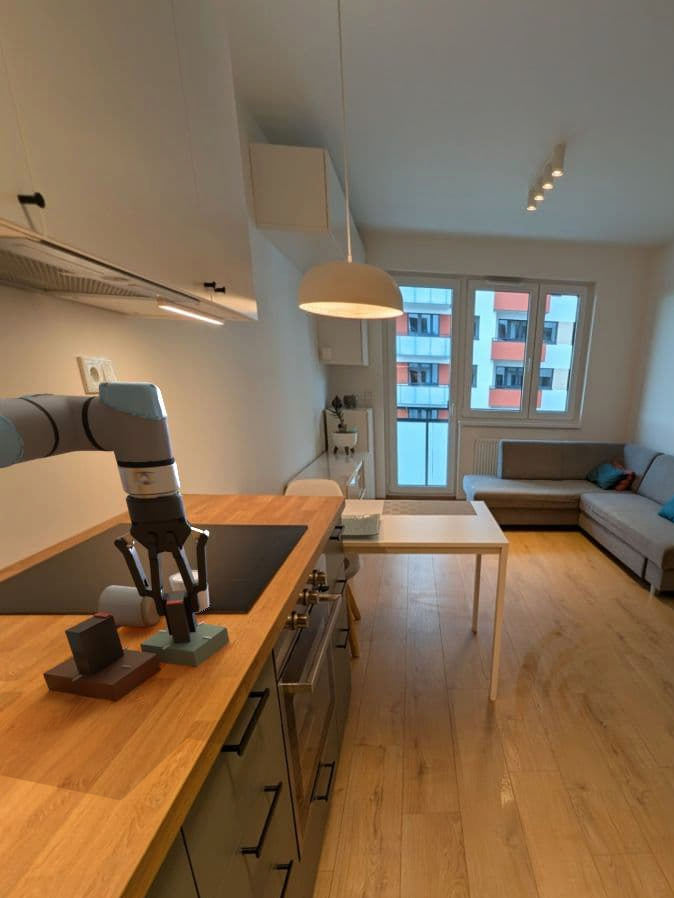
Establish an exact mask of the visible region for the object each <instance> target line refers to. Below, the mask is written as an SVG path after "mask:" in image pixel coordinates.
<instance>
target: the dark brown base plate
mask: <svg viewBox="0 0 674 898" xmlns="http://www.w3.org/2000/svg"><path fill="white" fill-rule="evenodd" d="M128 648H129V646H128V645H127V646H125V647H122V649H123V652H124V655H122V656H121V657H119V658H117V659H116V660H114V661H113V662H111V663H109V664H108V665H106V666H105V667H103V668H101V669H100V670H98V671H97V672H95V673H93V674H88V673H82V672H78V669H77V666H76V663H75V660H74V657H73V656H71V657H69V658H67V659H65V660H63V661H62V662H60V663H59V664H57V665H55V666H53V667H52V668H50V669H48V670H46V671H44V672H43V673H42V675H43V677H44V681H45V683H46V686H47V689H48V691H52V692H58V693H65V694H69V695H75V696H82V697H85V698H94V699H99V700H105V701H109V702H118V701H120V700H121V699H123V698H124V697H126V696H127V695H128V694H130V693H131V692H133V691H134V690H135V689H137V688H138V687H139V686H141V685H142V684H143V683H145V682H146V681H148V680H149V679H151V678H152V677H153V676H154V675H156V674H157V673H158V672H160V671H162V668H161V663H160V662H159V660H158V656H157V654H154V653H147V652H142V650H141V651H139V650H133V649H128Z"/></svg>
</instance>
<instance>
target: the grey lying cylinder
mask: <svg viewBox="0 0 674 898" xmlns="http://www.w3.org/2000/svg"><path fill="white" fill-rule="evenodd" d="M97 606H98V612H100V613H107V614H111V615H113V617H114V620H115V624H116V627H117V626H120V627H122V628H147V627H152V626H155V625H156V624H157V623H158V622H159V621H160V619H161V617H162V616H159V615H158V614H157V610H156V606H155V602H154V599H153V598H151V597H147V596H146V597H141V596H140V595H139V593H138V591H137V588H136V586H135V587H133V586H124V585H115V584H114V585H109V586H107V587H105V589H104V590H103V591H102V592H101V594H100V595H99V600H98V605H97Z"/></svg>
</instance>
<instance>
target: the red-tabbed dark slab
mask: <svg viewBox="0 0 674 898" xmlns="http://www.w3.org/2000/svg"><path fill="white" fill-rule="evenodd" d="M64 633H65V636H66V639H67V642H68V645H69V648H70V651H71V654H72V657H74V660H75V663H76V666H77V669H78V672H82V673H88V674H93V673H95V672H97V671H98V670H100V669H101V668H103V667H105V666H106V665H108V664H109V663H111V662H113V661H114V660H116V659H117V658H119V657H121V656H122V655H124V652H123V645H122V641H121V639H120V638H121V637H120V634H119V631H118V629H117V626H116V624H115V620H114V617H113V615H111V614H107V613H100V612H99V611H98V612H97V613H95V614H93V615H92V616H91V617H88V618H87V619H85V620H83V621H81V622H79V623H77V624H75V625H73V626H71V627H69V628H67V629H65V630H64Z"/></svg>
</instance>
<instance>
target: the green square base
mask: <svg viewBox="0 0 674 898" xmlns="http://www.w3.org/2000/svg"><path fill="white" fill-rule="evenodd" d="M229 642H230V637H229V632H228V627H227V626H225V625H216V624H208V623H206V620H202V621H201V622H197V629H196V632H193V635H192V638H191V642H185V643H177V644H174V641H173V637H172V635H169V631H168V627H167V626H166V627H164V628H163V629H160V630H157V633H155V634H153V635H152V636H150V637H148V638H147V639H145V640H144V641H142V642H140V644H139V645H140V650H141V652H147V653H154V654H157V656H158V660H159V663H166V664H173V665H179V666H185V667H193V668H198V667H199V666H200V665H202V664H203V663H204V662H205V661H207V660H208V658H210V657H211V656H213V655H214V654H216V653H217V652H218V651H219V650H220V649H222V648H223V647H224V646H225V645H227V644H228V643H229Z"/></svg>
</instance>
